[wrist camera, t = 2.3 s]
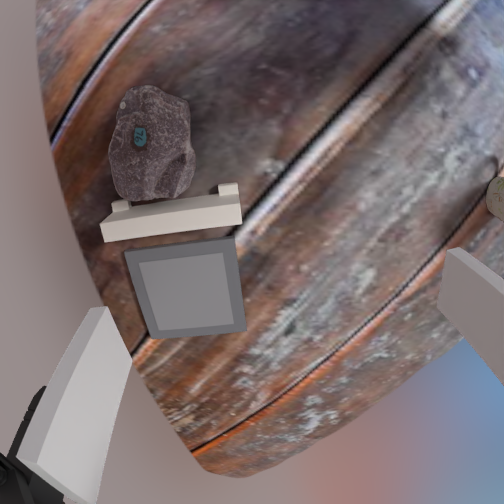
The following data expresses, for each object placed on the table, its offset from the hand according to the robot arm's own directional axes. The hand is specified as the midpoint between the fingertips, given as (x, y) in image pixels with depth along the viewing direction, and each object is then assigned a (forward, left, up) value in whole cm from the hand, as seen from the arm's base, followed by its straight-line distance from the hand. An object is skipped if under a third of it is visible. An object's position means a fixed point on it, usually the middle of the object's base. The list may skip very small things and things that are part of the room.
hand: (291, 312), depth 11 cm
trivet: (+12, -9, -23) cm, 28 cm away
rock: (-9, -8, -25) cm, 27 cm away
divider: (+2, -8, -23) cm, 25 cm away
